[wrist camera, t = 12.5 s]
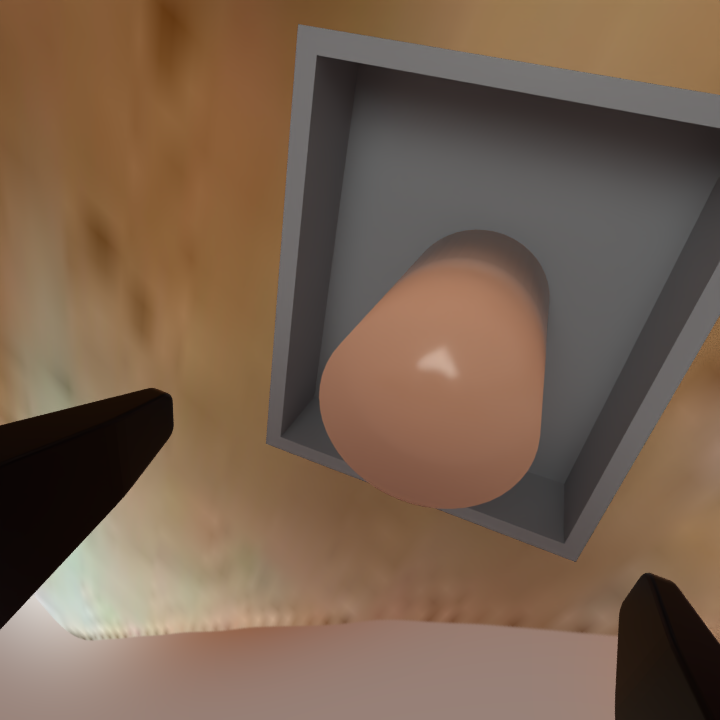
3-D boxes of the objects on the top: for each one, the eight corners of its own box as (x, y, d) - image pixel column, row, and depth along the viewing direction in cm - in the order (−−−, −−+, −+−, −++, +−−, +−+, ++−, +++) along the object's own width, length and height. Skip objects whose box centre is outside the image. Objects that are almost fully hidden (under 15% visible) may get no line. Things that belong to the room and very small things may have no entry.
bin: (768, 111, 13) (836, 114, 10) (573, 487, 21) (575, 561, 17) (352, 39, 16) (298, 24, 13) (308, 394, 23) (266, 443, 20)
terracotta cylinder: (572, 251, 16) (579, 360, 9) (522, 379, 18) (499, 538, 12) (423, 213, 17) (333, 287, 10) (395, 340, 20) (308, 464, 13)
